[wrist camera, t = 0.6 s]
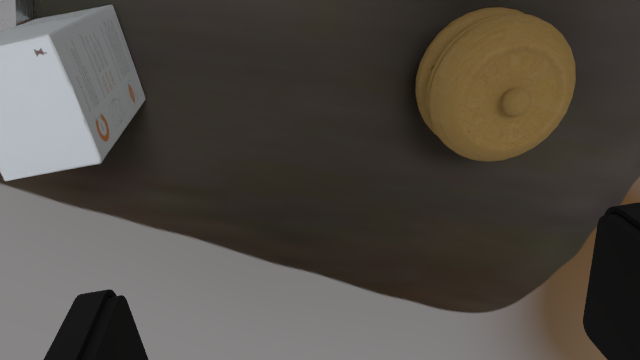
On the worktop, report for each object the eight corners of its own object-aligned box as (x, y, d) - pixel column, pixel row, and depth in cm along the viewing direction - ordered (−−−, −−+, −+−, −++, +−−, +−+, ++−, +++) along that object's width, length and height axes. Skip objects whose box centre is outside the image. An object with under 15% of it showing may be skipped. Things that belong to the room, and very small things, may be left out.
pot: (434, -17, 40) (483, -4, 31) (556, 23, 43) (633, 46, 34) (385, 115, 45) (416, 160, 36) (497, 145, 47) (552, 193, 39)
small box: (33, 18, 38) (-67, 54, 27) (114, 2, 38) (49, 31, 27) (74, 115, 42) (2, 184, 30) (148, 101, 42) (104, 164, 30)
